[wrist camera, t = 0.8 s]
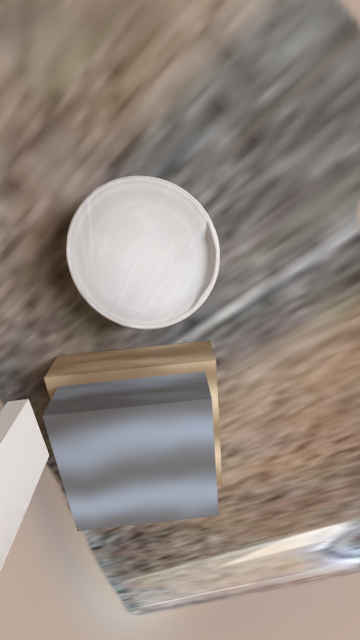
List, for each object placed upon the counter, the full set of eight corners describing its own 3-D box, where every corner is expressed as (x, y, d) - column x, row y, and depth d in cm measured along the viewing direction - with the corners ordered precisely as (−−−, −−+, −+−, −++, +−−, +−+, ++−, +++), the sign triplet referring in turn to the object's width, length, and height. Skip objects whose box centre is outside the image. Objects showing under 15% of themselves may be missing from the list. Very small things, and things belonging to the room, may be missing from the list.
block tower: (57, 355, 31) (25, 406, 24) (209, 340, 32) (224, 386, 24) (87, 469, 37) (68, 539, 30) (216, 455, 37) (229, 521, 30)
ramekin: (204, 311, 30) (212, 333, 26) (85, 305, 30) (70, 327, 25) (217, 184, 26) (229, 182, 21) (79, 173, 26) (59, 169, 21)
